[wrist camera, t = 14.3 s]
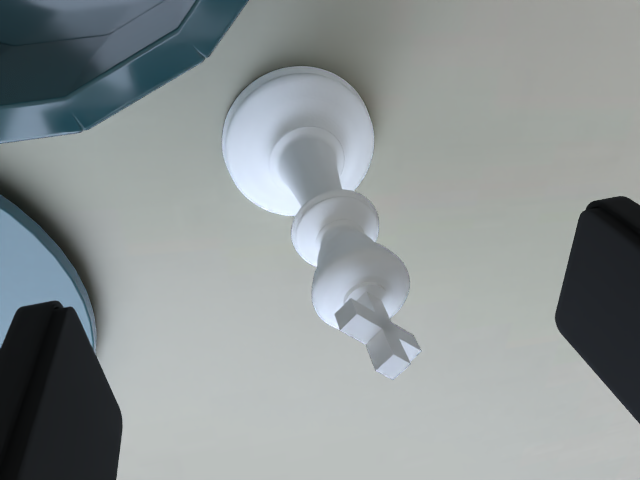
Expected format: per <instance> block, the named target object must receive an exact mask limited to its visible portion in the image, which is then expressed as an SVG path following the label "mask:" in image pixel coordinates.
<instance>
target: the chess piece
mask: <svg viewBox="0 0 640 480" xmlns="http://www.w3.org/2000/svg"><path fill="white" fill-rule="evenodd" d="M222 151H223V157H224V161H225V164H226V166H227V169H228V171H229V173H230V175H231V177H232V179H233V181H234V183H235V184H236V186H237V187H238V189H239V190H240V191H241V192H242V194H243V195H244V196H245V197H246V198H248V199H249V200H250V201H251V202H253V203H254V204H256V205H257V206H259V207H261V208H263V209H265V210H267V211H270V212H272V213H276V214H280V215H286V216H295V218H294V220H293V223H292V228H291V238H292V243H293V245H294V248H295V249H296V251H297V252H298V254H299V255H300V256H301V257H302V258H303V259H304V260H305V261H306V262H308V263H309V264H311V265H312V266H315V267H317V269H316V271H315V274H314V278H313V284H312V303H313V306H314V309H315V311H316V313H317V314H318V316H319V317H320V318H321V319H322V320H323V321H324V322H326V323H327V324H328V325H330V326H332V327H334V328H337V329H340V331H341V332H343V333H345V334H347V335H349V336H351V337H352V338H354V339H356V340H358V341H360V342H362V343H363V344H365V345H366V347H367V350H368V353H369V355H370V358H371V360H372V363H373V366H374V368H375V371H376V372H378V373H380V374H382V375H384V376H386V377H388V378H390V379H392V380H394V379H395V378H396V377H397V376H398V375H399V374H400V373H401V372H403V371H404V370H405V369H406V368H407V367H408V366H409V365H410V364H411V363H410V361H411V360H413V359H414V358H415V357H416V356H417V355H418V354H419V353H420V352H421V349H420V347H419V345H418V343H417V341H416V339H415V337H414V335H412V334H411V333H409V332H407V331H406V330H404V329H402V328H401V327H399V326H397V325H396V324H394V323H392V322H391V320H390V318H391V317H392V316H393V315H395V314H396V313H397V312H398V311H399V309H400V308H401V307H402V305H403V304H404V302H405V300H406V298H407V296H408V292H409V288H410V278H409V273H408V270H407V268H406V266H405V265H404V263H403V262H402V261H401V259H400V258H399V257H398V256H397V255H395V254H394V253H393V252H391V251H390V250H389V249H387V248H386V247H384V246H382V245H380V244H378V243H376V241H377V238H378V233H379V218H378V214H377V211H376V209H375V207H374V205H373V204H372V203H371V202H370V200H368V199H367V198H366V197H365V196H363V195H361V194H360V193H357V192H354V190H355V189H356V188H357V187H358V185H359V184H360V183H361V181H362V180H363V178H364V177H365V175H366V173H367V171H368V169H369V166H370V163H371V160H372V156H373V151H374V130H373V125H372V122H371V119H370V116H369V113H368V110H367V108H366V105H365V104H364V102H363V100H362V98H361V97H360V95H359V94H358V93H357V91H356V90H355V89H354V88H353V87H352V86H351V85H350V84H349V83H348V82H346V81H345V80H344V79H342V78H341V77H339V76H337V75H336V74H334V73H331V72H329V71H326V70H324V69H320V68H316V67H309V66H293V67H286V68H281V69H278V70H275V71H272V72H270V73H267V74H265V75H263V76H261V77H260V78H258V79H257V80H255V81H254V82H252V83H251V84H250V85H249V86H247V87H246V88H245V89H244V90H243V91H242V92H241V94H240V95H239V96H238V97H237V99H236V100H235V101H234V103H233V104H232V106H231V108H230V110H229V112H228V114H227V117H226V120H225V123H224V127H223V133H222Z"/></svg>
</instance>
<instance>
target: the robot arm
mask: <svg viewBox="0 0 640 480" xmlns="http://www.w3.org/2000/svg"><path fill="white" fill-rule="evenodd" d="M555 321H556V325H557V327H558V330H559V331H560V333H561V334H562V335H563V336H564V337H565V339H566V340H567V341H568V342H569V343H570V344H571V345H572V347H573V348H574V349H575V350H576V351H577V352H578V353H579V355H580V356H581V357H582V358H583V359H584V360H585V361H586V363H587V364H588V365H589V366H590V367H591V368H592V370H593V371H594V372H595V373H596V374H597V375H598V376H599V378H600V379H601V380H602V381H603V382H604V383H605V384H606V386H607V387H608V388H609V389H610V390H611V391H612V392H613V394H614V395H615V396H616V397H617V398H618V399H619V401H620V402H621V403H622V404H623V405H624V406H625V407H626V409H627V410H628V411H629V412H630V413H631V414H632V415H633V417H634V418H635V419H636V420H637V421H638V422H639V423H640V205H638V204H637V203H635V202H634V201H632V200H631V199H629V198H627V197H624V196H618V197H613V198H608V199H602V200H597V201H593V202H591V203H590V204H589V205H588V206H587V208H586V210H585V211H583V212H582V213H581V214H580V217H579V220H578V224H577V228H576V232H575V236H574V240H573V244H572V248H571V252H570V257H569V261H568V265H567V269H566V273H565V277H564V281H563V285H562V289H561V293H560V297H559V301H558V305H557V309H556V314H555ZM121 436H122V416H121V411H120V408H119V406H118V404H117V401H116V399H115V397H114V395H113V393H112V390H111V388H110V386H109V384H108V381H107V379H106V377H105V375H104V372H103V370H102V368H101V366H100V364H99V361H98V359H97V357H96V355H95V352H94V350H93V348H92V346H91V344H90V341H89V339H88V337H87V335H86V332H85V330H84V328H83V326H82V323H81V321H80V319H79V317H78V315H77V312H76V311H75V309H74V308H73V307H63V305H62V304H61V303H60V302H59V301H56V300H55V301H49V302H44V303H38V304H33V305H28V306H22V307H20V308H18V309H17V311H16V313H15V315H14V317H13V320H12V322H11V324H10V327H9V329H8V332H7V334H6V336H5V339H4V341H3V343H2V346H1V348H0V480H116V477H117V468H118V460H119V452H120V444H121Z"/></svg>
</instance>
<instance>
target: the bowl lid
mask: <svg viewBox="0 0 640 480" xmlns="http://www.w3.org/2000/svg"><path fill="white" fill-rule="evenodd" d="M55 300H56V301H59V302H60V303H61V304H62V305H63V307H73V308H74V309H75V311H76V312H77V315H78V317H79V319H80V321H81V323H82V326H83V328H84V330H85V332H86V335H87V337H88V339H89V341H90V344H91V346H92V348H93V350H94V352H95V354H96V338H97V332H96V325H95V318H94V312H93V309H92V306H91V303H90V300H89V297H88V293H87V291H86V289H85V287H84V285H83V283H82V281H81V279H80V277H79V275H78V273H77V271H76V269H75V268H74V267H73V265H72V264H71V262H70V261H69V260H68V258H67V257H66V255H65V254H64V253H63V251H62V250H61V248H60V247H59V246H58V245H57V244H56V243H55V242H54V241H53V239H52V238H51V237H50V236H49V235H48V234H47V233H46V232H45V231H44V230H43V229H42V227H41V226H40V225H38V224H37V223H36V222H35V221H34V220H33V219H31V218H30V217H29V216H28V215H27V214H26V213H25V212H23V211H22V210H21V209H20V208H19V207H18V206H16V205H15V204H14V203H12V202H11V201H9V200H8V199H7V198H5V197H4V196H2V195H1V194H0V348H1V346H2V343H3V341H4V339H5V336H6V334H7V332H8V329H9V327H10V324H11V322H12V320H13V317H14V315H15V313H16V311H17V309H18V308H20V307H22V306H28V305H33V304H38V303H44V302H49V301H55Z"/></svg>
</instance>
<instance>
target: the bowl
mask: <svg viewBox="0 0 640 480" xmlns="http://www.w3.org/2000/svg"><path fill="white" fill-rule="evenodd" d="M248 1H249V0H0V144H2V143H9V142H17V141H24V140H31V139H39V138H46V137H53V136H61V135H68V134H75V133H81V132H82V131H83V130H89V129H91V128H92V127H94V126H96V125H97V124H99V123H101V122H103V121H104V120H106V119H108V118H109V117H111V116H113V115H114V114H116V113H118V112H119V111H121V110H123V109H124V108H126V107H128V106H129V105H131V104H133V103H135V102H136V101H138V100H140V99H141V98H143V97H145V96H146V95H148V94H150V93H151V92H153V91H155V90H156V89H158V88H160V87H161V86H163V85H165V84H167V83H168V82H170V81H172V80H173V79H175V78H177V77H178V76H180V75H182V74H183V73H185V72H187V71H188V70H190V69H192V68H194V67H195V66H197V65H199V64H200V63H202V62H203V61H204V60H205V58H208V57H209V56H210V55H211V53H212V52H213V51H214V49H215V48H216V46H217V45H218V43H219V42H220V41H221V39H222V38H223V36H224V35H225V34H226V32H227V31H228V29H229V28H230V26H231V25H232V24H233V22H234V21H235V19H236V18H237V17H238V15H239V14H240V12H241V11H242V9H243V8H244V7H245V5H246V4H247V2H248Z"/></svg>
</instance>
